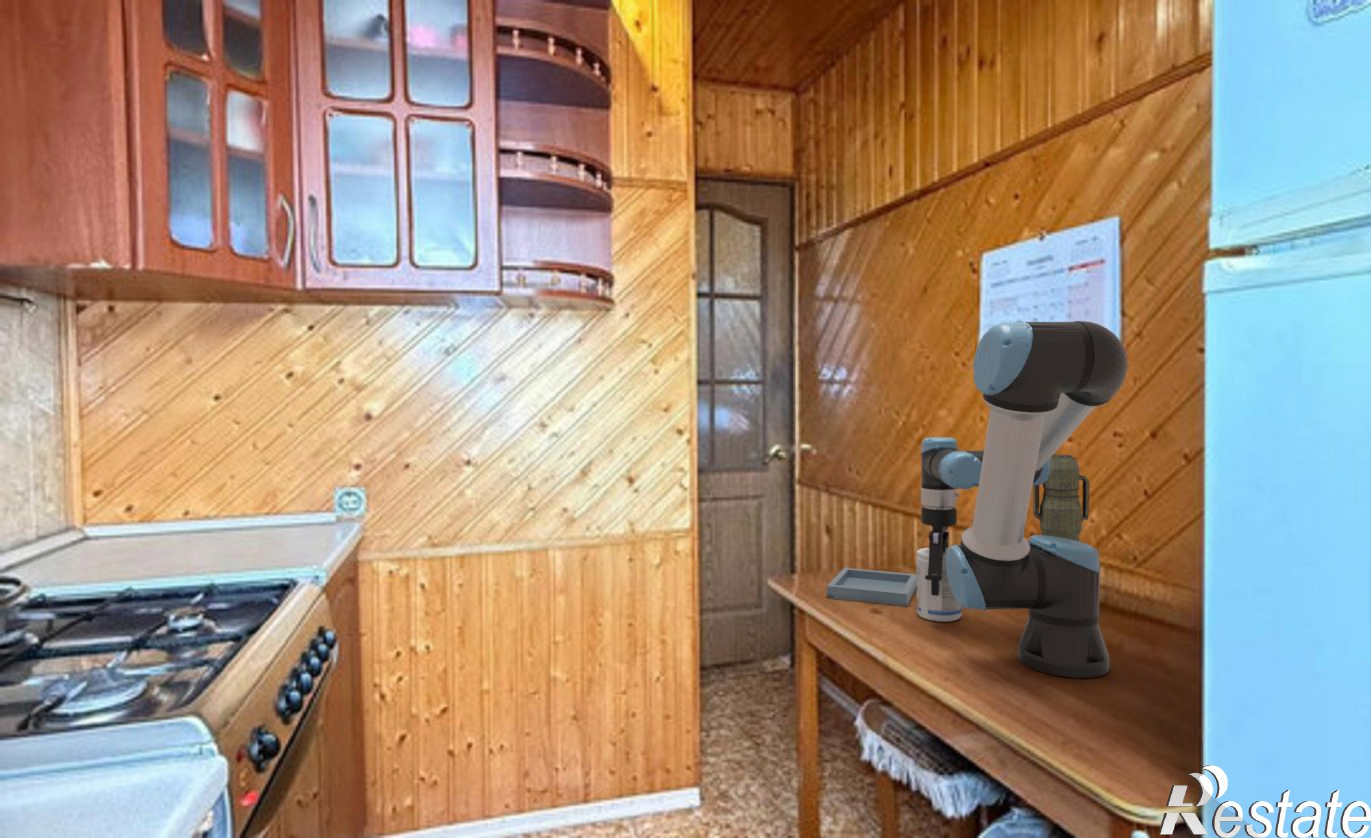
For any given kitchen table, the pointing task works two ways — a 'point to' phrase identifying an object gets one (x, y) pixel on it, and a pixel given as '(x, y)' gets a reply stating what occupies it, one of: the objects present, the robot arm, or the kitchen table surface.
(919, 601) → the supplement tub
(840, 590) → the tray
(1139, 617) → the kitchen table surface
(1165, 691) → the kitchen table surface
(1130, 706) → the kitchen table surface
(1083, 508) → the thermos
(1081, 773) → the kitchen table surface
